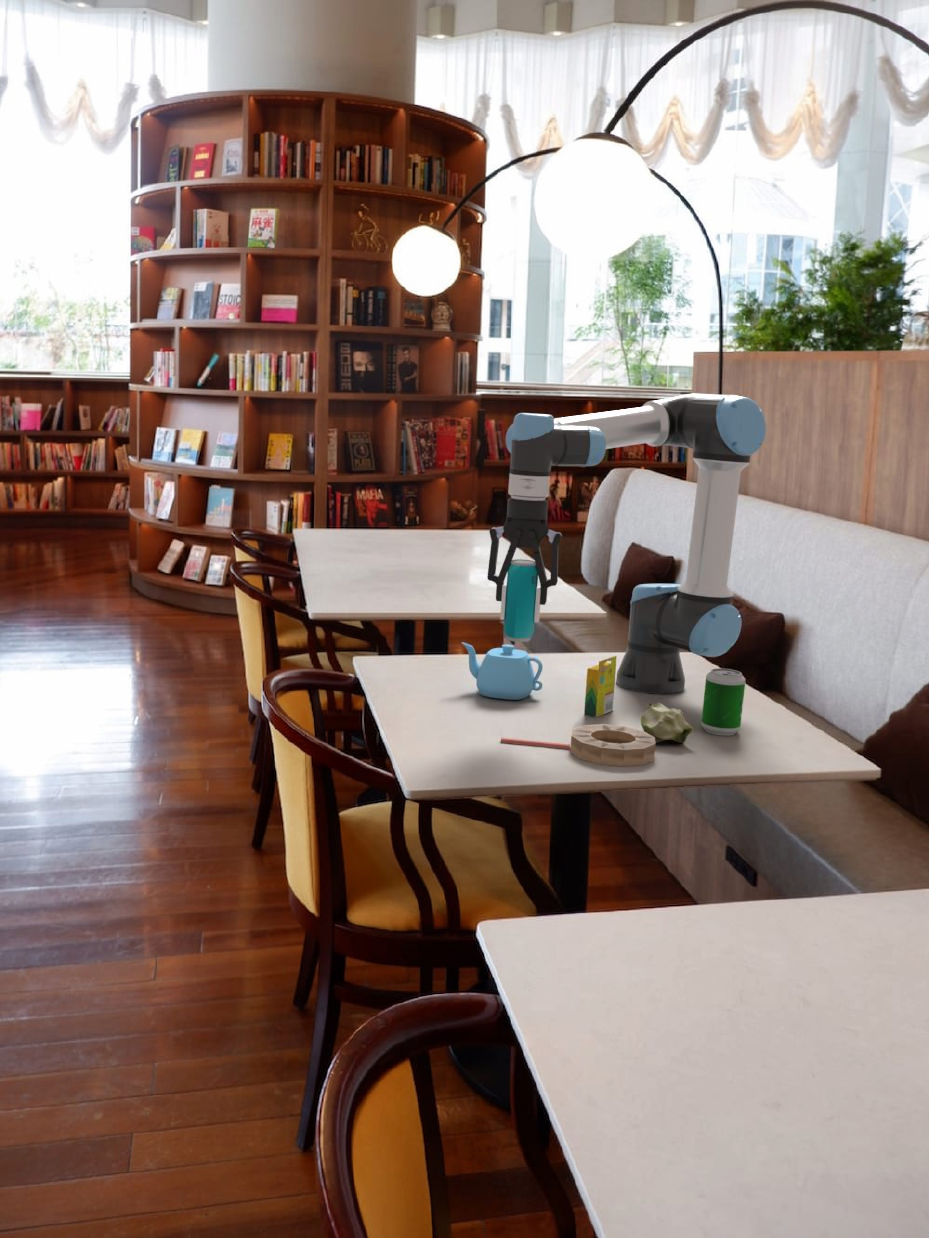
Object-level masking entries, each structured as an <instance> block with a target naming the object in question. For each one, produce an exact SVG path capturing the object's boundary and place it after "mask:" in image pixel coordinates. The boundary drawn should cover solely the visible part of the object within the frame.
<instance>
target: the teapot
mask: <svg viewBox="0 0 929 1238" xmlns="http://www.w3.org/2000/svg"><path fill="white" fill-rule="evenodd" d="M461 644H462V645H463V646H464V647H465V649H466V650H467V653H468V665H469V666H468V667H469V672H470V674H471V675H472V676H473V677H474V679H476V688H477V690H478V692H479V694H480V695H481V696H484V697H487V698H494V699H499V700H501V699H502V700H513V701H514V700H515V701H518V700H523V699H525V698H527V697H528V696H530V694H531V693H532V692H533V691H537V692H538V691H541V690H542V688H543V683H542V681H540V680H538V679H539V678H540V676H541V674H542V671H543V663H542V661H541V660H540V659H539V658H538V657H536V656H530V655H529V653H528V652H527V651H526V650H522V649H516V648H515V645H513V644H502V645H501V647H496V648H495V647H494V648H491V649H490V650H488V651H487V652H486V654H485V656H484V658H483V659H482V662H481V664H480V663H479V662H478V660H477V656H476V650H475V648H474V647H473V645H471V644H469V643H467V642H464V641H463V642H461ZM532 662H535V663H536V664H537V665H538V666H537V667H538V668H537V672H536V674H535V672H534V668H533V664H532ZM537 684H538V685H539V686H536V685H537Z"/></svg>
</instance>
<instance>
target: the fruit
mask: <svg viewBox="0 0 929 1238" xmlns="http://www.w3.org/2000/svg"><path fill="white" fill-rule="evenodd" d="M649 706H650V707H649V709H647V710H645V711H644V712H643V714H641V718H640V725H641V728H642V731H644V732H646V733H648V734H650V735H651V736H653V737H655V744H656V743H659V742H662V741H663V742H664V741H668V740H672V741H674V742H676V743H681V744H684V743H686V741H687V737H688V736H689V735H690V734H691V733H692V731H693V730H694V727H692V726H691V725H690V724H689V723H688V722H687V721H686V720H685V717H684V715H685V714H684V712H683V711H682V709H676V708H675V707H674V708H672V707H671V708H668V707H667V706H665V705H664V704H663V703H660V702H658V703H656V704H652V703H649Z"/></svg>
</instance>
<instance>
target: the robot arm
mask: <svg viewBox="0 0 929 1238" xmlns="http://www.w3.org/2000/svg"><path fill="white" fill-rule="evenodd" d="M512 422H513V423H511V425H510V426H509V427H508V429H507V430H506V431H507V432H506V435H505V445H506V448H507V450H508V452H509V453H510V460H509V461H510V462H509V463H510V465H509V474H508V475H509V476H508V477H509V479H508V492H507V493H508V495H509V496H510V497H509V498H507V506H506V520H505V522H504V524H503V526H497V527H496V526H493V527H492V528H490V530H489V537H490V541H491V544H490V552H489V560H488V568H487V577H486V578H487V580H488V581H491V582H493V583H495V585H496V589H495V590H496V591H495V600H496V601H497V602H501V604H500V614H499V615H500V616H499V618H500V621H501V620H502V621H504V619H505V606H506V591H507V582H506V583H505V579H506V577H507V575H508V568H509V566H510V563H511V561H512V560H514V556H515V553H516V550H517V548H520V549H521V548H527V549H531V550H532V554H533V558H534V561H535V563H536V568H537V572H538V581H539V584H540V586H538V585H537V589H536V603H535V617H534V622H535V623H536V624H537V623H539V621H540V616H541V615H540V614H541V613H540V612H541V605H542V606H545V605H546V603H547V600H548V599H547V597H548V588H550V587H553V586H554V587H555V586H557V584H558V579H559V545H560V542H561V539H562V537H563V534H562V533H561V532H560V531H555V530H552V529H550V528H549V526H548V522H547V521H548V509H549V501H548V500H547V499H546V498H548V497H549V496H550V484H551V470H552V467H553V466H554V467H556V466H558V467H582V468H585V467H593V466H597V465H599V464H600V463H601V462H602V461H603V459H604V457H605V454H606V451H607V449H608V450H609V449H613V448H614V449H615V448H622V447H629V446H634V445H640V444H641V445H642V444H646V445H648V446H649V447H661V446H662V447H663V446H668V447H669V446H671V447H677V448H678V447H679V448H680V447H681V448H685V449H693V452H692V461H694V463H695V464H696V465H697V467H698V473H697V482H696V488H695V489H696V491H695V499H694V506H693V507H694V509H693V516H692V517H693V518H692V523H691V524H692V525H691V533H690V543H689V551H688V552H689V553H688V559H687V560H688V561H687V567H686V568H687V570H686V575H685V576H686V577H685V581H684V582H683V583H643V584H641V583H640V584H637V585H636V586H635V587H633V590H632V594H631V595H632V596H631V600H630V602H629V604H630V609H629V620H628V631H627V632H628V634H627V645H626V647H627V648H626V650H625V653H624V655H623V658H622V661H621V663H620V664H619V667H618V670H617V671H616V678H615V684H617V685H618V686H620V687H622V688H625V689H627V690H629V691H630V690H631V691H635V692H641V693H646V694H647V693H648V694H662V695H663V694H665V695H666V694H675V693H676V694H677V693H680V692H682V691H684V689H685V683H686V677H685V674H684V673H685V672H684V669H683V664H682V659H681V655H680V652H681V650H684V651H687V652H690V653H692V654H694V655H697V656H704V657H709V658H717V657H719V656H722V655H724V654H725V653H727V652H728V651H729V650H730V648H732V647H733V646H734V645H735V644H736V641H737V640H738V638H739V636H740V633H741V629H742V625H743V624H742V616H741V614H740V611H739V610H738V609H737V608H736V607H735V606H734V605H733V599H734V593H733V591H732V590H731V589H730V588H729V585H728V580H729V572H730V571H729V570H730V564H731V563H730V562H731V555H732V546H733V537H734V530H735V523H736V513H737V506H738V497H739V492H740V491H739V490H740V483H741V474H742V471H743V470H744V469H745V468H746V467H748V466H749V465H750V463H751V455H753V454H755V453H757V452H758V451H759V450H760V449H761V447H760V446H762V445H763V444H764V442H765V438H766V432H767V423H766V422H767V421H766V418H765V414H764V412H763V410H762V409H760V406H759V404H758V403H757V402H755V400H753V399H751V398H749V397H745V396H740V395H736V394H713V393H702V392H701V393H700V392H694V393H693V392H692V393H686V394H681V395H676V396H671V397H666V398H661V399H657V400H650V401H646V402H645V403H644V404H642V406H640V407H632V408H626V409H619V410H617V409H616V410H610V411H603V412H602V411H601V412H596V413H594V412H593V413H588V414H580V415H579V414H578V415H572V416H565V417H557V418H556V417H555V418H554V416H553V415H552V414H545V413H530V412H520V413H517V414H516V415H514V418H513V421H512ZM503 533H505V535H506V536H507V538H508V540H509V541H510V544H509V547H508V549H507V553H506V555H505V558H504V560H503V563H502V566H501V569H500V571H499V574H496V573H497V572H496V571H497V564H498V554H499V547H500V546H499V545H500V539H501V538H502V537H503ZM546 536H548V541H549V542H550V543H551V548H550V578H549V579H548V576H547V571H546V568H545V564H544V563H545V562H544V559H543V555H542V551H541V542H542V541H543V540H544V539H545V538H546Z"/></svg>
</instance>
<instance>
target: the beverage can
mask: <svg viewBox="0 0 929 1238" xmlns="http://www.w3.org/2000/svg"><path fill="white" fill-rule="evenodd" d="M506 577H507V578H506V584H507V591H506V606H505V619H504V620H503V621H504V622H503V632H504V634H505V635H504V636H505V639H506V640H507V641H510V642H514V643H515V642H516V643H526V642H527V643H528V642H530V641H531V639H532V638H533V636H534V634H535V633H534V632H535V625H536V624H535V622H534V617H535V603H536V589H537V587H538V584H539V582H538V581H539V576H538V572H537V568H536V563H535V560H531V559H521V558H520V559H512V561H511V563H510V566H509V568H508V572H507V575H506Z"/></svg>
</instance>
